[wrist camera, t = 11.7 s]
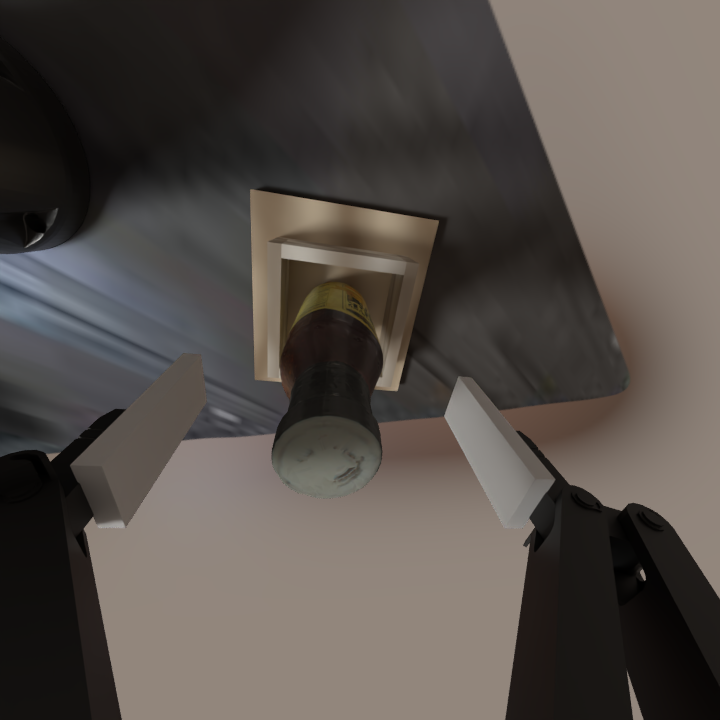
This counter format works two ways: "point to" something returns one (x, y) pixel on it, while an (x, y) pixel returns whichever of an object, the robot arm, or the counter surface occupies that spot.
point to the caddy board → (335, 271)
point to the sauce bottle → (329, 396)
